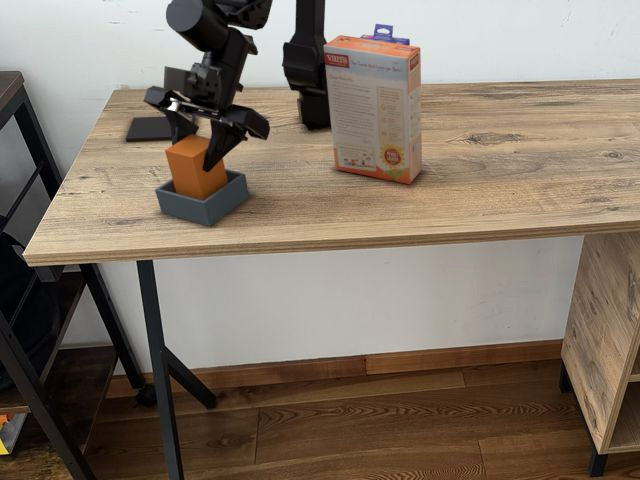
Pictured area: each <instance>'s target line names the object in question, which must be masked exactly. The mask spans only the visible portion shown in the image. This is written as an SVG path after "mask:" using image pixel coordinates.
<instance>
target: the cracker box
mask: <svg viewBox="0 0 640 480" xmlns="http://www.w3.org/2000/svg"><path fill="white" fill-rule="evenodd" d="M324 55H325V66H326V77H327V87H328V97H329V107H330V118H331V128H330V129H331V137H332V147H333V157H334V166H335V170H337V171H342V172H346V173H347V172H348V173H352V174H356V175H362V176H367V177H372V178H377V179H381V180H386V181H392V182H397V183H402V184H405V185H406V184H408V185H410V184H411V183H412V182H413V181H414V180H415V179H416V177H418V175H419V174H420V173H421V171H422V170H423V168H422V166H423V164H422V162H423V161H422V160H423V159H422V156H423V155H422V153H423V152H422V72H421V71H422V69H421V67H422V66H421V62H422V60H421V59H422V58H421V57H422V56H421V47H420V46H414V45H410V46H409V45H403V44H396V43H389V42H382V41H376V40H369V39H363V38H360V37H356V36H349V35H343V34H340V35H337V36H336V37H335V38H333V39H332V40H330V41H329V42H327V44H325V45H324Z"/></svg>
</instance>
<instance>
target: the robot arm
mask: <svg viewBox="0 0 640 480" xmlns="http://www.w3.org/2000/svg"><path fill="white" fill-rule="evenodd" d="M273 1H274V0H171V2H170V3H168V4H167V7H166V10H165V21H166V24H167V25H168V27H169V28H170V29H171V30H173V31H174V32H175V33H176V34H177V35H178V36H180V37H181V38H183V39H184V40H185V41H186V42H187V43H189V44H190V46H192V47H193V48H195V49H196V50H197V51H199V52H201V53H203V56H202V59H201V62H193V64H192V65H191V67H190V69H189V70H188V69H183V68H178V67H173V66H166V65H164V71H163V72H164V73H163V87H161V86H157V85H152V86H150V87H148V88H147V89H146V92H145V94H144V98H143V102H144V103H145V104H147V105H149V106H150V107H152V108H153V109H155V110H157V111H158V112H160V113H161V114H163V115H164V116H166V117H167V119H168V121H169V123H170V128H171V136H172V140H171V146H173V145H174V144H176V143H178V142H179V141H181V140H183V139H184V138H186V137H188V136H189V135H191V134H193V135H197V133H198V131H199V129H200V126H199V125H197V124H195V122H194V123H192V122H191V120H192V115H193V116H195V117H198V118H202V119H207V120H209V123H210V131H211V134H210V137H209V138H210V142H209V145H208V148H207V151H206V155H205V158H204V163H203V171H205V172H209V171H210V170H211V169H212V168H213V167H214V166H215V165H216V164H217V163H218V162H219V161H220V160H221V159H222V158H223V159H224V157H226V156H227V155H228V154H229V153H230V152H231V151H232V150H234V149H235V148H236V147H237V146H239V145H240V144H241V143H242V142H247V141H248V139H249V137H248V136H250V137H251V138H254V139H258V140H261V141H262V140H263V141H267V140H268V139H269V135H270V132H271V126H270V121H269V120H268V119H267V118H265V117H264V116H263V115H262V114H260V112H258V111H257V110H255V109H254V108H252V107H250V106H244V105H240V104H235V103H234V100H235V96H236V94H237V92H238V93H243V91H244V88H245V86H244V85H243V84H242V83H240V80H241V77H242V74H243V71H244V68H245V65H246V61H247V59H248V55H251V56H257V55H258V54H259V50H258V46H257V45H256V43H255V42H254V37H253V35H249V34H244V33H243V32H242V31H241V30H240V29H238V28H242V29H248V30H252V31H258V30H262V29H264V28H265V26H266V25H267V23H268V20H269V16H270V13H271V9H272V5H273ZM325 19H326V0H295V21H294V22H295V25H294V33H293V35H292V36H291V38H290V40H289V41H284V42H283V45H282V63H281V67H282V70H283V75H284V77H285V78H286V81H287V84H288V87H289V89H290V91H293V92H298V97H297V98H296V105H297V113H298V119H299V121H300V123H301V124H302V125H303V126H304V127H305V129H306V130H307V131H308V132H314V131H318V130H325V129H332V128H331V118H330V107H329V97H328V87H327V77H326V66H325V55H324V45H325V44H327V43H328V42H327V39H326V37H325ZM236 27H237V28H236ZM177 92H179V94H178V93H177ZM186 98H187V99H189V100H187V99H186ZM247 133H248V136H247Z"/></svg>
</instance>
